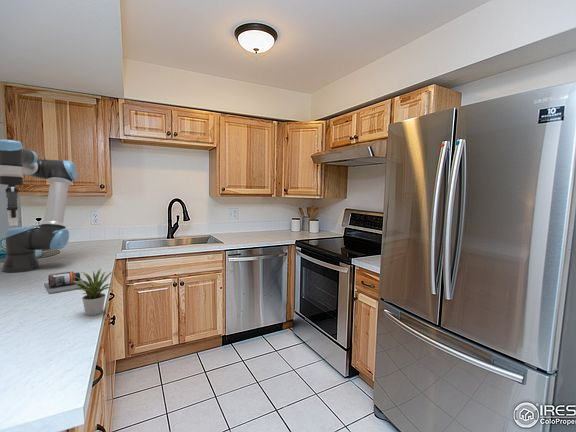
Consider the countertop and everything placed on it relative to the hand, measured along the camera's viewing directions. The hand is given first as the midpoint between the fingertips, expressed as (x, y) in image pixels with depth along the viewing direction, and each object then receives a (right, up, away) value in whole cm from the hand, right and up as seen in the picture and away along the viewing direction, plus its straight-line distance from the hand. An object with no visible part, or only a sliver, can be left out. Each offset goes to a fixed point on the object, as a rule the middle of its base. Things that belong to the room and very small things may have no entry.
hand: (12, 223), depth 128 cm
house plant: (+52, -32, -21) cm, 64 cm away
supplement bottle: (+15, -26, +1) cm, 30 cm away
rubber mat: (+20, -29, +5) cm, 36 cm away
